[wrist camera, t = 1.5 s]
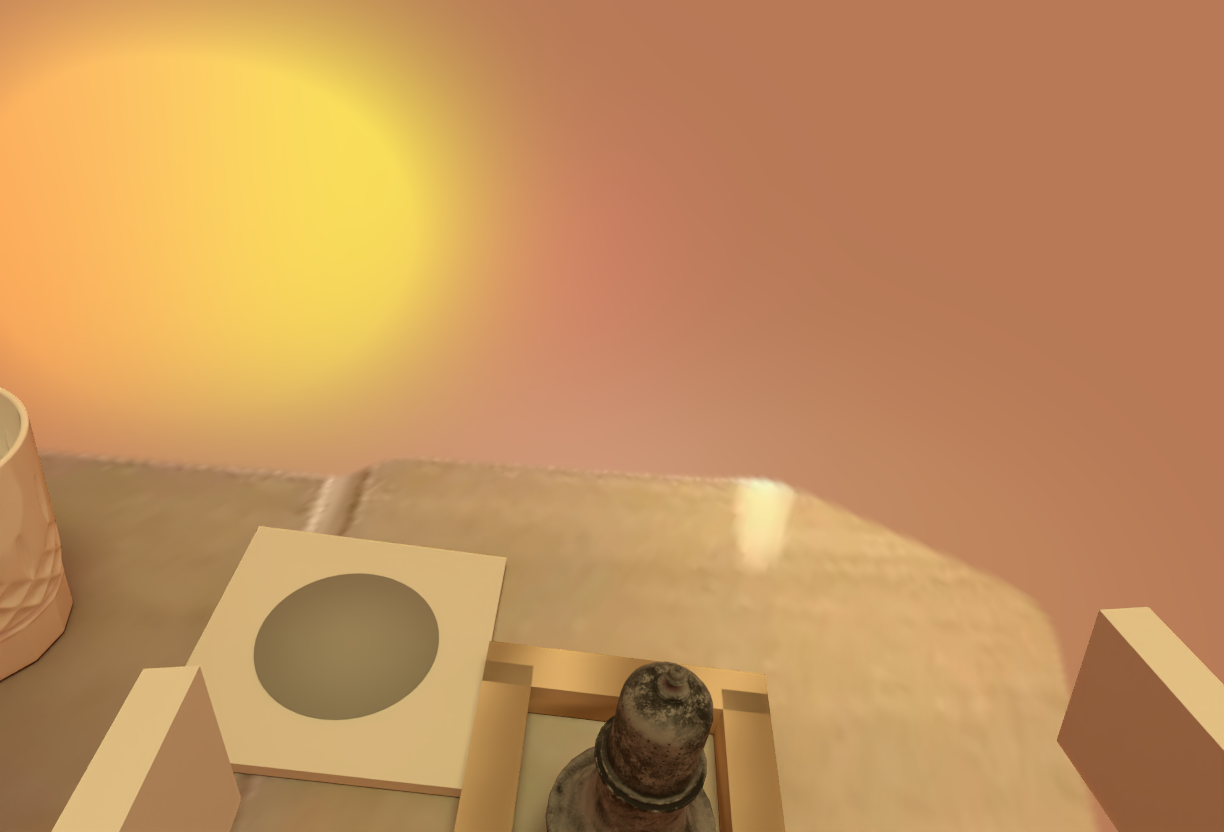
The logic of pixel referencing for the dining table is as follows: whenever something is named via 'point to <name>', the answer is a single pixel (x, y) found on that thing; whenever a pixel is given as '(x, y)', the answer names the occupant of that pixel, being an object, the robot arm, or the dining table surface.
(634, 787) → the salt shaker
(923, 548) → the dining table surface
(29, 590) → the white cup
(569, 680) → the block
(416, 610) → the cream square board
